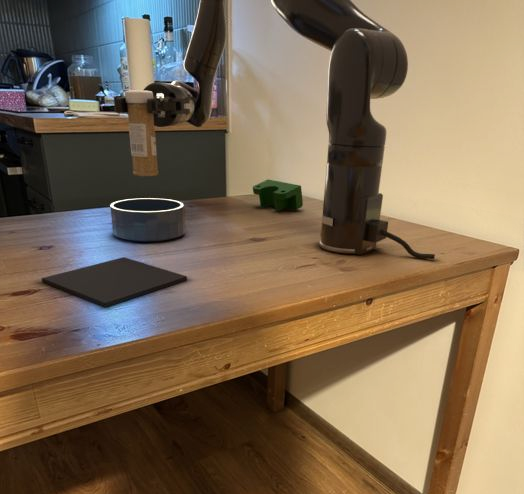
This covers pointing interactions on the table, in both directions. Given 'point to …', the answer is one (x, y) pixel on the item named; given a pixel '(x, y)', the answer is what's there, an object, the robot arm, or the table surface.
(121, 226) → the bowl
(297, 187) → the clamp
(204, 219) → the table surface
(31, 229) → the table surface
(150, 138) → the sprinkles bottle
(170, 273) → the mat
